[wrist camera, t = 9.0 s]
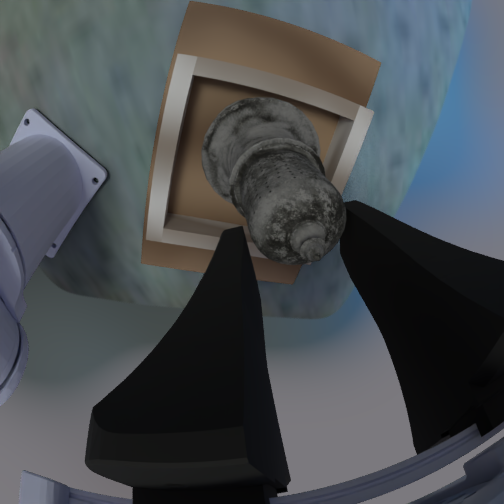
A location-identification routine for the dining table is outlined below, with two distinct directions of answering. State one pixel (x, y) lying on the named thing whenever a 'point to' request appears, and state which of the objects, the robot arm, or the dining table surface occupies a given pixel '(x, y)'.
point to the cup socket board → (227, 92)
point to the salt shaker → (274, 178)
